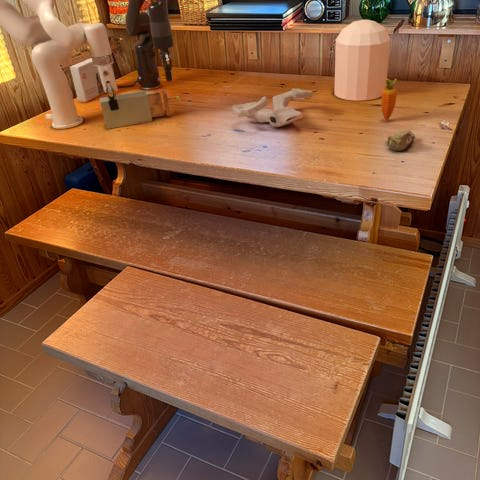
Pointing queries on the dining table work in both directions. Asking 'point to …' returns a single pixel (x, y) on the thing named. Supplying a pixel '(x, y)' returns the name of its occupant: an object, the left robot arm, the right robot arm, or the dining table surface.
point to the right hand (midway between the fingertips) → (169, 80)
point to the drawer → (160, 103)
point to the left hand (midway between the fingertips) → (114, 106)
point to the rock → (400, 140)
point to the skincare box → (86, 80)
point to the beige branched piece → (280, 112)
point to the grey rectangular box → (127, 110)
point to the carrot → (388, 99)
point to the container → (361, 61)
